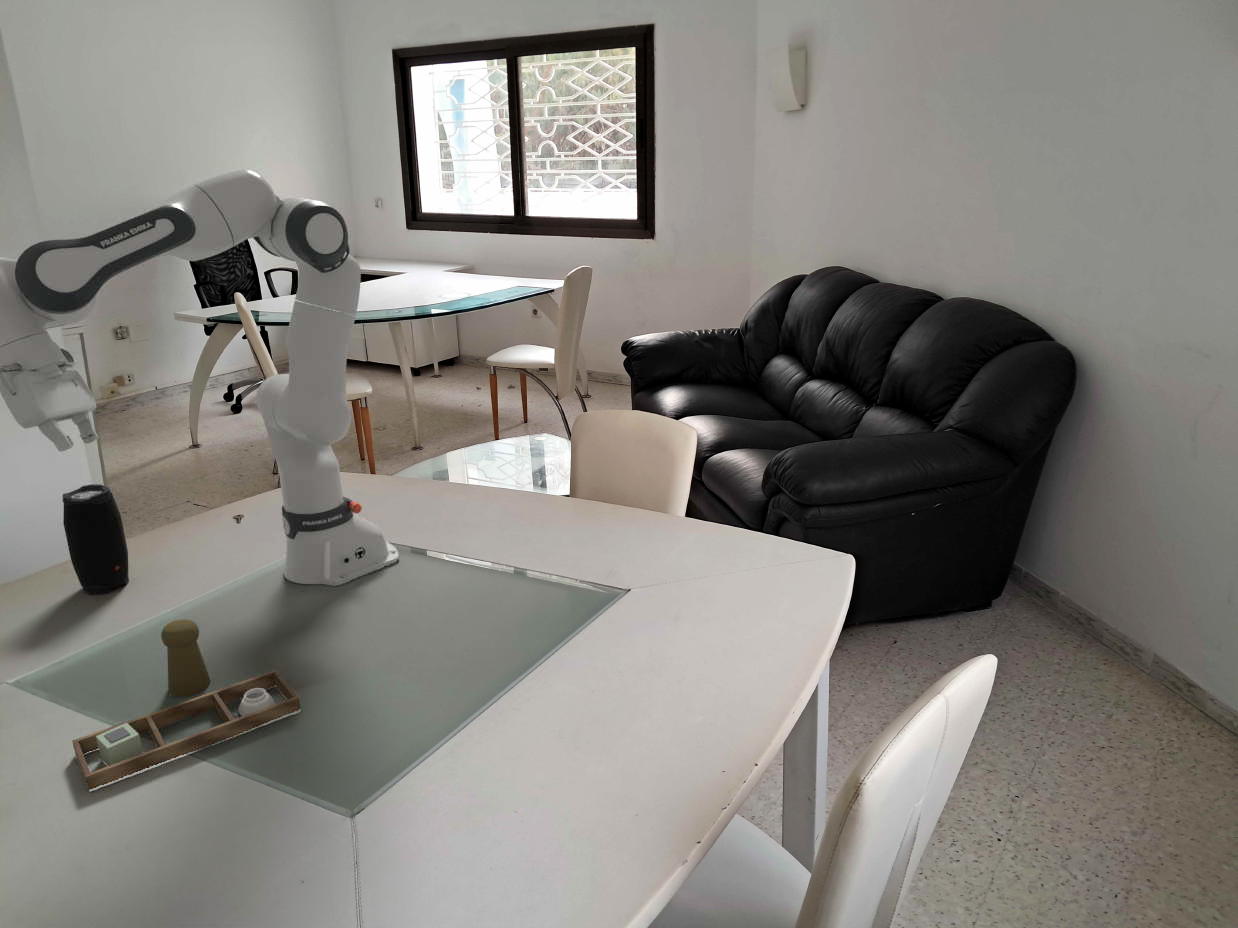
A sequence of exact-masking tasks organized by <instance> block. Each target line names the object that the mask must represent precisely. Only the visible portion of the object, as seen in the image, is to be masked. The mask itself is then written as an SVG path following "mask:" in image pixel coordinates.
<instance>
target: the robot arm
mask: <svg viewBox="0 0 1238 928" xmlns="http://www.w3.org/2000/svg"><path fill="white" fill-rule="evenodd" d="M249 239H253V240H254V241H255V242H256V243H257V245H258V246H260V247H261V248H262V249H263V250H264V251H265V252H267V253H268V254H270V255H272V256H275V257H278V258H281V259H284V260H287V261H290V262H295V263H296V266H297V270H298V274H299V279H298V281H299V282H298V283H299V284H298V287H297V290H296V293H295V298H294V301H293V307H292V310H291V311H292V312H291V315H290V320H289V324H288V327H287V328H288V330H287V333H286V338H285V346H286V349H287V354H288V373H281V374H279V373H278V374H274V375H271V376H268V377H267V378H266V379H264V381H262V382H261V384H260V385H259V386H258V388H257V391H256V396H255V398H256V405H257V408H258V411H259V412H260V415H261V417H262V420H263V422H264V423H263V424H264V425H265V429H266V430H265V431H266V432H267V436H268V440H269V443H270V446H271V449H272V452H273V456H274V458H275V463H276V465H277V470H278V474H279V483H280V489H281V496H282V498H281V499H282V504H283V505H282V506H281V515H282V516H281V522H282V527H283V532H284V535H285V537H286V544H285V545H286V549H285V550H286V552H285V554H286V555H285V562H284V568H283V576H284V578H285V579H286V580H287V581H290V582H292V583H295V584H301V585H328V586H334V587H335V586H336V587H338V586H341V584H342V585H344V584H346V583H345V582H347V581H349V580H352V579H354V578H356V577H358V576H361V577H363V576H362V575H363V574H366V573H368V572H371V571H373V570H375V569H378V568H380V567H382V566H385V565H387V564H390V563H392V562H394V561H396V560H398V559H399V560H400V555H399V551H398V549H397V548H396V546H394V545H393V544H392V543H390V542H389V541H387V540H386V538H385V535H384V533H383V531H382V530H381V529H380V527H379V526H378V525H376V524H375V523H373V522H372V521H370V520H368V519H366V518H364V517H363V516H360V515H358V514H360V513H361V511H362V510H363V509H362V508H363V506H362V504H360V503H358V502H357V501H354V500H352V499H350V498H348V497H346V496H343V490H342V481H341V480H342V479H341V470H340V464H339V460H338V458H337V457H336V455H335V453H334V450H333V447H332V446H331V445H334V444H336V443H338V442H339V441H341V440H342V439H343V438H344V437H346V435H347V434H348V433H349V430H350V428H351V424H352V423H351V422H352V413H351V409H350V407H349V403H348V400H347V361H348V360H347V358H348V353H349V348H350V342H351V337H352V335H353V329H354V324H355V320H356V316H357V311H358V306H359V300H360V291H361V280H362V279H361V277H362V276H361V275H362V274H361V273H362V271H361V270H362V269H361V267H360V266H361V265H360V264H359V262H358V261H357V260H356V259H355V257H353V256H352V255H351V254H350V252H351V251H350V247H349V232H348V227H347V224H346V221H345V219H344V217H343V216H342V214H341V213H340V212H339V211H338V210H337V209H336V208H334V207H333V206H331V205H330V204H327V203H326V202H324V201H320V200H318V199H317V200H315V199H310V198H307V197H306V198H305V197H300V196H298V197H297V196H296V197H295V196H293V197H281V196H277V194H275V192H274V189H273V188H272V186H271V185H270V184H269V182H268V181H267V180H266V179H265V178H264V177H263V176H262V175H260V174H259V173H257V172H256V171H253V170H249V169H239V170H234V171H230V172H226V173H221V174H219V175H216V176H213V177H210V178H208V179H205V180H203V181H200V182H198V183H196V184H193V185H191V186H189V187H186V188H184V189H182V190H180V191H179V192H177V193H175V194H173V195H171V196H170V197H168V198H166V199H165V200H163V201H161V202H160V203H159V204H158V205H156V206H154V207H152V208H151V209H149V210H148V211H146V212H144V213H142V214H140V215H138V216H134V217H133V218H130V219H128V220H125V221H123V222H120V223H118V224H116V225H113V226H110V227H109V228H105V229H103V230H100V231H98V232H95V233H93V234H91V235H88V236H83V237H80V238H72V239H49V240H48V239H47V240H42V241H39V242H36V243H34V244H32V245H30V246H29V247H28V248H26V249H24V250H23V252H22V253H21V254H20V255H19V257H18V259H13V258H12V259H11V258H7V257H0V395H1V397H2V400H4V403H5V404H6V407H7V408H8V410H9V412H10V413H11V415H12V416H13V419H14V420H15V421H16V423H17V424H18V425H19V426H20V427H22V428H23V429H30V428H31V429H32V428H36V427H38V429H39V431H40V433H42V435H44V437H46V438H47V439H48V440H50V441H51V442H52V443H53V445H54V446H55V447H56V449H57V451H59V452H65V451H68V450H70V449H72V448H73V447H74V445H75V443H74V442H73V441H72V439H71V437H70V435H66V434H65V433H64V431H63V430H62V429H61V428H60V424H59V422H63V421H67V420H71V421H72V422H73V424H74V425H76V426H77V429H78V431H79V432H80V434H79V437H80V439H82V441H83V443H84V444H86V445H87V444H91V443H94V442H96V441H98V440H99V435H98V434H97V432H96V431H95V428H94V424H93V420H92V417H91V416H90V414H89V413H91V412H93V411H95V410H97V403H96V399H95V397H94V394H93V393H92V391H91V390H90V388H89V385H88V384H87V382H86V380H85V379H84V377H83V375H82V374H81V372H80V371H79V370H78V369H77V367H75V365H77V360H76V358H75V357H74V355H73V353H71V351H68V350H66V349H64V348H62V347H61V346H60V345H58V344H57V343H56V341H54V340H53V339H52V336H50V334H49V333H48V331H47V329H53V328H58V327H62V326H68V325H74V324H76V323H78V322H81V321H83V320H84V319H86V318H87V317H88V316H89V315H90V314H91V312H92V311H93V309H94V307H95V304H96V300H97V293H99V291H100V290H101V289H102V287H103V286H104V285H105V284H106V283H107V282H109V280H110V279H112V278H115V277H117V276H119V275H122V274H124V273H126V272H127V271H129V270H131V269H134V268H136V267H139V266H141V265H143V264H145V263H148V262H150V261H151V260H154V259H157V258H160V257H166V256H173V257H177V258H179V259H181V260H185V261H190V262H197V261H200V260H204V259H207V258H211V257H213V256H216V255H220V254H221V253H223V252H226V251H227V250H230V249H232V248H233V247H236V246H237V245H239V244H241V243H242V242H244V241H246V240H249ZM378 570H379V569H378ZM371 573H372V572H371ZM366 575H367V574H366ZM356 579H357V578H356ZM354 580H355V579H354ZM352 581H353V580H352ZM349 582H350V581H349ZM343 583H344V584H343ZM347 583H348V582H347ZM337 585H338V586H337Z"/></svg>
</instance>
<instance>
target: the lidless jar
mask: <svg viewBox="0 0 1238 928" xmlns="http://www.w3.org/2000/svg"><path fill="white" fill-rule="evenodd" d="M274 704H276V703H275V699H274V698H273V697H272V696H271V695H270V694H269V693H268V692H267V690H264V689H262V688H254V689H251V690H249V691H247V692H246V693H245V694H244V697H243V698H242V699H241V702H240V703H239V707H238V713H239V715H240V717H242V716H245V715H247V714H250V713H253V712H256V711H258V710H261V709H264V708H266V707H269V706H272V705H274Z"/></svg>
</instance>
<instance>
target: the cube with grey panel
mask: <svg viewBox="0 0 1238 928" xmlns="http://www.w3.org/2000/svg"><path fill="white" fill-rule="evenodd" d="M96 739H97V744H98V748H99V750H98V751H99V756H100V757H99V758H100V760H101V759H102V760H103V761H104V762H105V763H106V764H107V765H108V766H110V765H113V764H115V763H118V762H121V761H123V760H126V759H129V758H131V757H134V756H137V755H139V754H142V753H144V751H143V747H142V743H141V738H140V735H139V734H138V733H137V732H136V731H135V730H134V729H133V728H132V727H131V726H130V725H129V724H128V723H125V724H123V725H120V726H118V727H116V728H113V729H111V730H109V731H107V732H104V733H102V734H100V735H98V736H96ZM102 760H101V761H102ZM103 761H102V762H103ZM104 762H103V763H104Z"/></svg>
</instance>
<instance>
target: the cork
mask: <svg viewBox="0 0 1238 928" xmlns="http://www.w3.org/2000/svg"><path fill="white" fill-rule="evenodd" d="M160 636H161V641H162V644H163V645H164V646H165V647H167V650H166V651H167V683H168V684H167V685H168V687H167V691H168V693H169V694H170V695H171V696H174V697H180V698H185V697H191V696H194V695H198V694H199V693H201V692H203V691H205V690H206V689H207V688H208V687H209V686H210V685H211V682H212V681H211V678H210V675H209V672H208V670H207V666H206V663H205V659H204V657H203V655H202V653H201V652H202V651H201V650H200V649H201V648H200V646H199V643H198V639H199V636H200V628H199V626H198V624H197V623H196V622H195V621H194V620H191V619H187V618H185V619H184V618H182V619H177V620H174V621H171V622H168V623H167V624H166V625H165V626H164V627H163V628H162V630H161V633H160Z"/></svg>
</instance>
